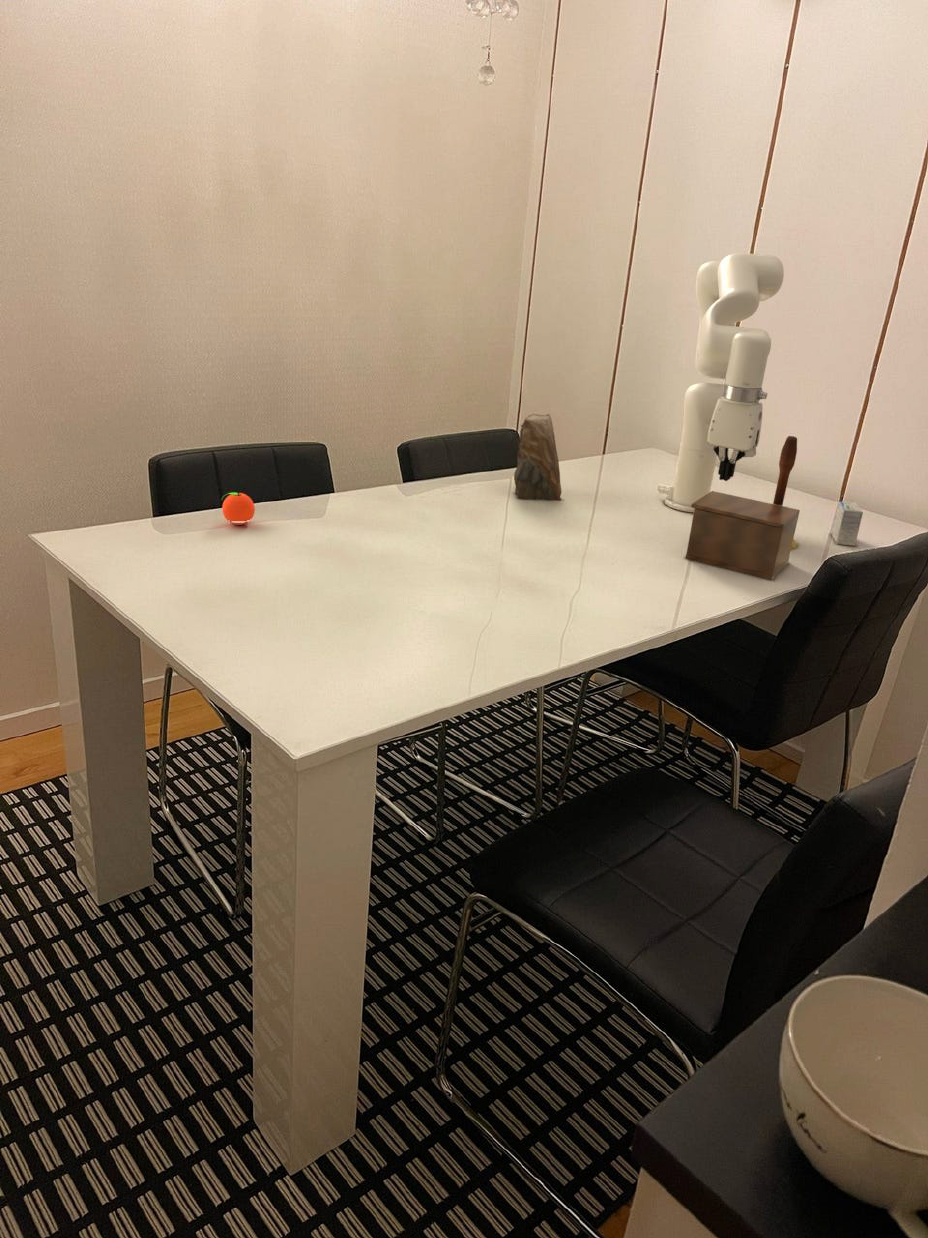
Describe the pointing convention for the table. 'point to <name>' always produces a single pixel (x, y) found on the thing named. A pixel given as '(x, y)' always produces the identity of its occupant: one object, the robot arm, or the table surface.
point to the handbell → (785, 471)
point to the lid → (746, 509)
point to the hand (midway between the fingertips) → (724, 478)
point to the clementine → (238, 508)
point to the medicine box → (847, 523)
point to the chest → (740, 543)
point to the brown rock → (537, 460)
